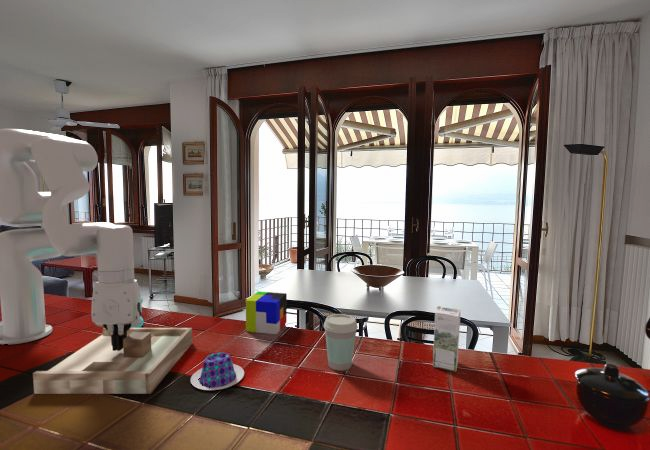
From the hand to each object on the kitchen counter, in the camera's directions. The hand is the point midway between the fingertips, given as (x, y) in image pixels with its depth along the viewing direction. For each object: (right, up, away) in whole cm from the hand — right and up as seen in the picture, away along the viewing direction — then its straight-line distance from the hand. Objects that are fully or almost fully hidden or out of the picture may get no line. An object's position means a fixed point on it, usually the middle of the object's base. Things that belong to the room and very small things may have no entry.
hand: (119, 348), depth 86 cm
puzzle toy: (+32, -3, +26) cm, 42 cm away
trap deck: (+1, -4, +1) cm, 4 cm away
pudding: (+26, -6, -5) cm, 27 cm away
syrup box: (+82, -5, +3) cm, 82 cm away
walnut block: (+4, -1, 0) cm, 5 cm away
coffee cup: (+55, -5, +2) cm, 55 cm away
